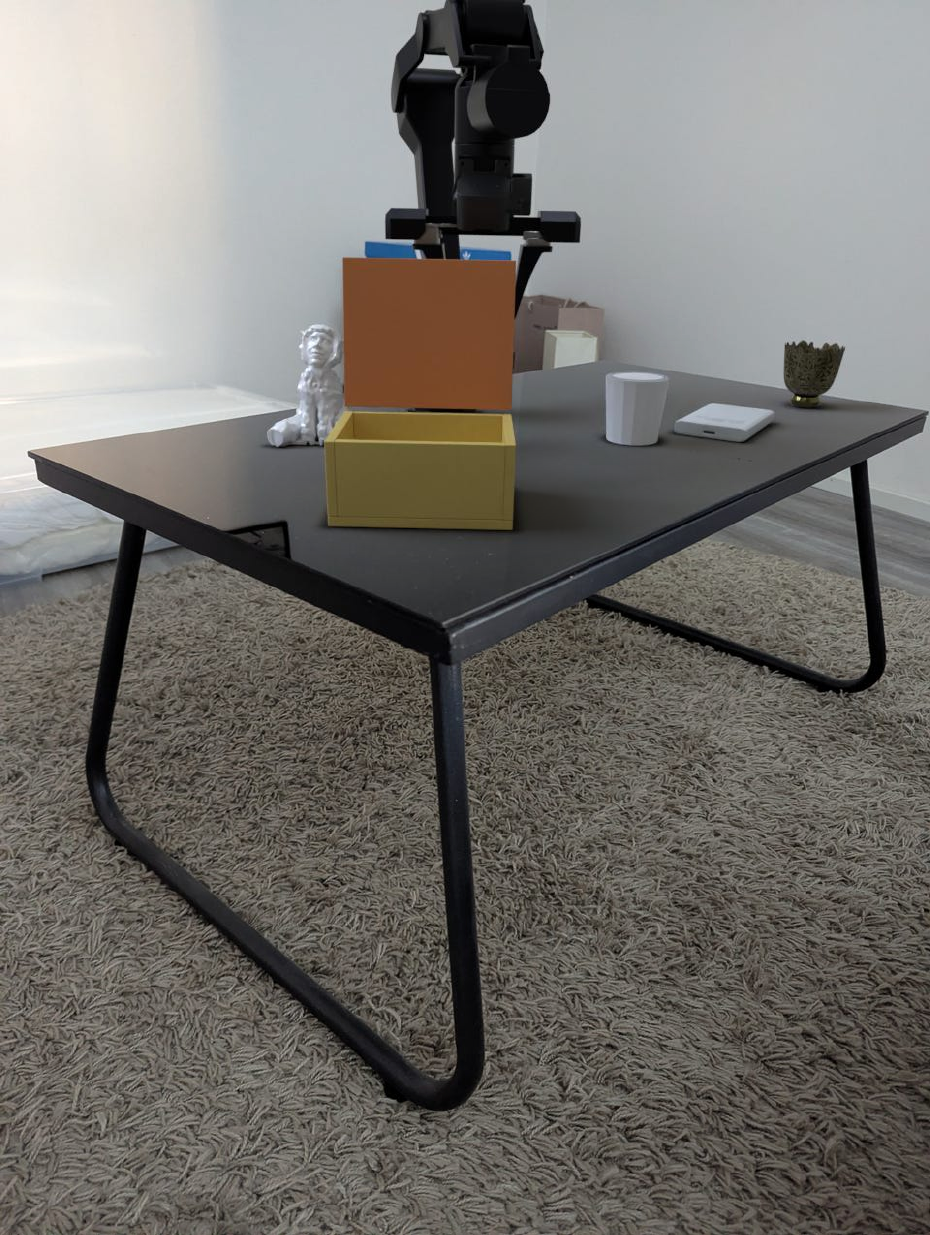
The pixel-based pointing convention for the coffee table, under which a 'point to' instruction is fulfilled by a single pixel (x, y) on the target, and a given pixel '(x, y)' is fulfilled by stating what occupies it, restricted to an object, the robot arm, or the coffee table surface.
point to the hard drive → (724, 422)
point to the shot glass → (634, 406)
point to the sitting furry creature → (315, 391)
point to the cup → (810, 371)
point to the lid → (428, 333)
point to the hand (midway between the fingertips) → (480, 318)
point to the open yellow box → (421, 470)
